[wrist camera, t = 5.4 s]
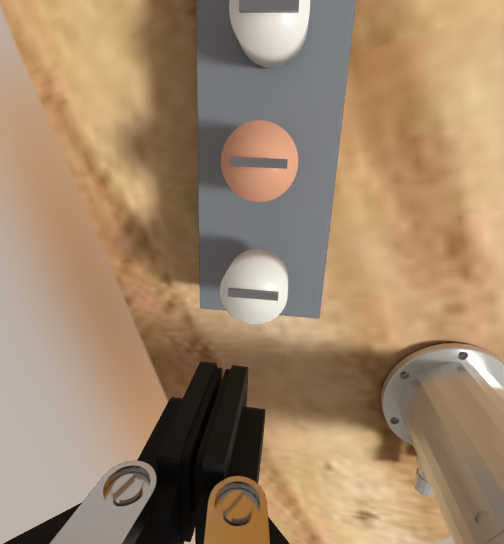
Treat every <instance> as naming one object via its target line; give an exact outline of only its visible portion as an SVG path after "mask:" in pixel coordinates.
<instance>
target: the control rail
mask: <svg viewBox="0 0 504 544" xmlns="http://www.w3.org/2000/svg"><path fill="white" fill-rule="evenodd" d="M229 1H230V0H196V24H197V105H198V186H199V267H200V308H203V309H214V310H226V309H225V307H224V305H223V303H222V301H221V297H220V285H221V281H222V279H223V277H224V275H225V273H226V272H227V270H228V268H229V266H230V265H231V263H232V261H233V260H234V259H235V258H236V257H237V256H238V255H239V254H240V253H242V252H244V251H246V250H250V249H265V250H268V251H271V252H273V253H274V254H276V255H277V256H278V257H279V258H280V259H281V260H282V261H283V262H284V264H285V266H286V268H287V271H288V297H287V302H286V305H285V307H284V309H283V310H282V312H281V313H280V314H279V315H284V316H295V317H307V318H320V309H321V300H322V292H323V283H324V274H325V266H326V257H327V248H328V240H329V231H330V222H331V213H332V205H333V196H334V187H335V179H336V170H337V161H338V153H339V144H340V135H341V127H342V118H343V109H344V101H345V92H346V83H347V75H348V66H349V57H350V49H351V40H352V31H353V23H354V14H355V5H356V0H310V12H309V21H308V30H307V35H306V39H305V42H304V44H303V46H302V48H301V50H300V51H299V53H298V54H297V55H296V56H295V57H294V58H293V59H292V60H291V61H289V62H288V63H286V64H284V65H282V66H279V67H274V68H268V67H262V66H260V65H257V64H256V63H254V62H253V61H251V60H250V59H249V58H248V57H247V55H246V54H245V53H244V51H243V49H242V47H241V45H240V43H239V41H238V39H237V36H236V34H235V32H234V30H233V27H232V24H231V21H230V15H229ZM257 120H263V121H269V122H272V123H275V124H277V125H278V126H280V127H282V128H283V129H284V130H285V131H286V132H287V133H288V134H289V135H290V137H291V138H292V140H293V142H294V143H295V146H296V149H297V153H298V169H297V173H296V176H295V178H294V181H293V182H292V184H291V186H290V187H289V188H288V189H287V190H286V191H285V192H284V193H283V194H282V195H280V196H279V197H277V198H275V199H273V200H270V201H266V202H253V201H249V200H246V199H243V198H242V197H240V196H238V195H237V194H236V193H234V192H233V191H232V190H231V188H230V187H229V186H228V184H227V183H226V181H225V179H224V176H223V173H222V169H221V154H222V150H223V147H224V144H225V142H226V140H227V139H228V137H229V136H230V135H231V133H232V132H233V131H234V130H235V129H237V128H238V127H239V126H241V125H243V124H245V123H248V122H251V121H257ZM226 311H227V310H226Z"/></svg>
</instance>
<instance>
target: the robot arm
mask: <svg viewBox="0 0 504 544" xmlns="http://www.w3.org/2000/svg"><path fill="white" fill-rule="evenodd" d="M247 385H248V367H243V366H235V365H233V366H232V368H231V369H226V370H225V373H224V376H223V379H222V368H217V364H216V363H209V362H200V364H199V366H198V368H197V370H196V372H195V374H194V376H193V378H192V380H191V383H190V385H189V387H188V389H187V391H186V393H185V395H184V397H183V399H181V398H173V397H172V398H171V399H170V400H169V402H168V404H167V406H166V407H165V409H164V411H163V413H162V415H161V417H160V419H159V421H158V422H157V424H156V426H155V428H154V430H153V432H152V434H151V436H150V438H149V440H148V441H147V443H146V445H145V447H144V449H143V451H142V453H141V455H140V457H139V458H138V460H137V461H127V462H124V463H121V464H118V465H117V466H115V467H113V468H112V469H110V470H109V471H108V472H107V473H106V474H105V475H104V476H103V477H102V478H101V480H100V481H99V482H98V484H97V485H96V486H95V487H94V489H93V490H92V491H91V492H90V493H89V495H88V496H87V497H86V499H85V500H84V501H83V502H82V503H80V504H78V505H76V506H75V507H73V508H71V509H69V510H67V511H65V512H63V513H61V514H59V515H57V516H55V517H53V518H51V519H49V520H48V521H46V522H44V523H42V524H40V525H38V526H36V527H34V528H32V529H30V530H28V531H26V532H24V533H23V534H21V535H19V536H17V537H15V538H13V539H11V540H9V541H7V542H6V543H4V544H184V541H186V542H190V541H191V539H192V536H193V532H194V529H195V528H196V529H195V533H196V534H195V540H196V544H289V542H288V541H287V540H286V539H285V537H284V536H283V535H282V533H281V532H280V531H279V530H278V528H277V527H276V526H275V525H274V523H273V522H272V521H271V520H270V518H269V517H268V510H267V500H266V496H265V493H264V491H263V490H262V488H261V487H260V486H259V485H258V479H259V471H260V462H261V454H262V445H263V434H264V422H265V409H258V408H251V407H246V402H247ZM381 406H382V411H383V414H384V416H385V419H386V421H387V423H388V425H389V427H390V429H391V430H392V431H393V432H394V433H395V434H396V435H397V436H398V437H399V438H400V439H402V440H403V441H404V442H406V443H408V444H410V445H412V446H414V449H415V451H416V454H417V458H416V459H417V463H418V465H419V467H418V468H417V472H416V476H415V479H414V483H413V484H414V487H415V489H416V490H417V491H418V492H419V493H421V494H422V495H425V496H431V495H432V494H434V497H435V499H436V501H437V504H438V506H439V508H440V511H441V513H442V516H443V518H444V520H445V523H446V525H447V528H448V530H449V532H450V535H451V537H452V540H453V541H454V544H504V363H503V362H502V361H501V360H500V359H498V358H497V357H496V356H495V355H493V354H492V353H490V352H488V351H486V350H484V349H482V348H479V347H476V346H472V345H468V344H460V343H444V344H438V345H433V346H429V347H426V348H423V349H420V350H418V351H416V352H414V353H412V354H410V355H409V356H407V357H405V358H404V359H403V360H402V361H400V362H399V363H398V364H397V365H396V366H395V367H394V368H393V369H392V370H391V372H390V373H389V375H388V376H387V378H386V380H385V382H384V385H383V388H382V391H381Z"/></svg>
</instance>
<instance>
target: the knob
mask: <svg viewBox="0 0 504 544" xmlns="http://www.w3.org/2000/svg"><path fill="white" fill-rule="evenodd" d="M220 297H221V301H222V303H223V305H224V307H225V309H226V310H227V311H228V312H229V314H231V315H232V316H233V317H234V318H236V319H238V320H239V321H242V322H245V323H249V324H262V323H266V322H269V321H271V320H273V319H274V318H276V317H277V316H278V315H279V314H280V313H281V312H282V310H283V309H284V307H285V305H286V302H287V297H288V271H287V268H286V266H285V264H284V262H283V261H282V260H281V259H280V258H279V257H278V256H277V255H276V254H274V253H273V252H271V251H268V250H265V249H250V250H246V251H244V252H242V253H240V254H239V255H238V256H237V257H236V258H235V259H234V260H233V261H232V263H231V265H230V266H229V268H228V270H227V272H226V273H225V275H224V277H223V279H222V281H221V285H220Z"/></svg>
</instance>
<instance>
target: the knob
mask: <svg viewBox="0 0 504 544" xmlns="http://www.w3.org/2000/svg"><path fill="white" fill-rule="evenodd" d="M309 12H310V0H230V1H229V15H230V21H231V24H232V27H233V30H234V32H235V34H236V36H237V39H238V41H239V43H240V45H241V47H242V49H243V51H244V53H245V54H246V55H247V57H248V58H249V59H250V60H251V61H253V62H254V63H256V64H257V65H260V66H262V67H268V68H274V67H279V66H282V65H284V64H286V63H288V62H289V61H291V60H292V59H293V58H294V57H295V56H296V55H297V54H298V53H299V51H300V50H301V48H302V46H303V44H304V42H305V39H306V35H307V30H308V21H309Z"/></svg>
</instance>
